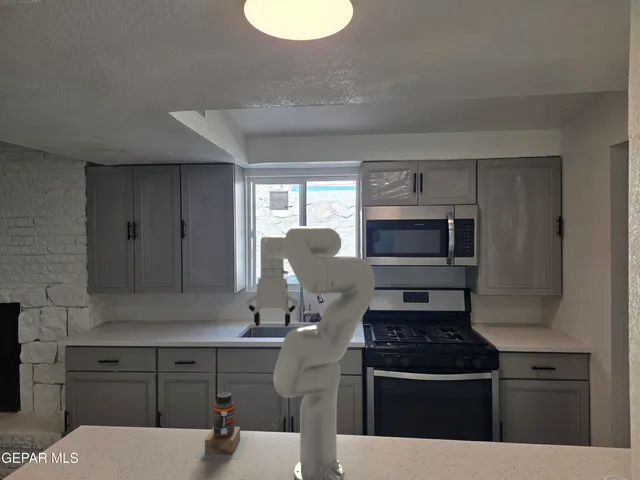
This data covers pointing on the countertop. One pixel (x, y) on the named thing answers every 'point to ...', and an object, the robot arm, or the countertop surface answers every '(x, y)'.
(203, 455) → the base plate
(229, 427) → the supplement bottle
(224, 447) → the walnut block
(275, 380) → the robot arm
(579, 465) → the countertop surface
